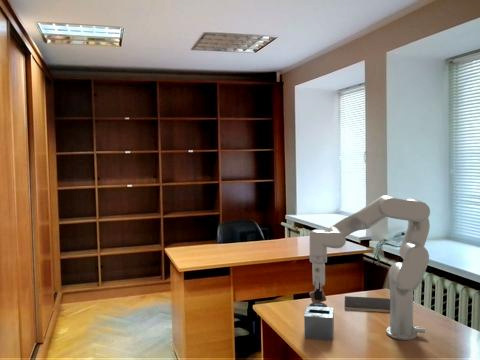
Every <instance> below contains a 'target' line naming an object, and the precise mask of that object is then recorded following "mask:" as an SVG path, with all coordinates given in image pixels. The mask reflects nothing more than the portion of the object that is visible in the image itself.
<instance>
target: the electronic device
mask: <svg viewBox="0 0 480 360" xmlns="http://www.w3.org/2000/svg"><path fill="white" fill-rule="evenodd" d="M308 306H316V307H328V305H327V304H326V303H324V302H320V303H316V304H313V302H311V303H310V304H309V305H308Z"/></svg>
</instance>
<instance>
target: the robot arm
mask: <svg viewBox="0 0 480 360" xmlns="http://www.w3.org/2000/svg"><path fill="white" fill-rule="evenodd" d="M430 215H431V209H430V207H429V205H428V204H427V203H426V202H424V201H422V200H419V199H417V198H407V199H402V198H397V197H394V196H391V195H388V194H386V195H385V194H384V195H382V196H379V197H378V198H376V199H375V200H374V201H372V202H371V203H369V204H368V205H366V206H364V207H362V208H361V209H360V210H358V211H357V212H355V213H352V214H351V215H349V216H347V217H345V218H343V219H341V220H339V221H338V222H336V223H335V224H333V225H332V226H330V227H329V228H327V230H324V229H323V230H322V229H313V230H311V231H309V234H308V236H309V262H310V263H312V264H311V265H312V266H311V267H312V269H311V270H312V271H311V272H312V275H311V276H312V285H313V286H314V291H315V300H322V291H321V289H323V287H324V286H325V283H326V264H325V263H327V262H328V248H329V249H330V248H331V249H341V248H343V247H345V245H346V241H347V239H346V237H348V236H350V235H351V234H352V233H355V232H358V231H364V230H365V231H366V230H369V229H371V228H372V227H373V226H375V225H376V224H378V223H379V222H381V221H383V220H384V219H385V218H390V219H395V220H400V221H401V220H402V221H407V228H406V232H405V234H404V237H403V240H402V243H401V245H400V248H399V250H398V252H399V256H400V257H401V259H402V260H403V261H402V262H401V261H399V262H395V263H392V264H391V265H390V267H389V269H388V283H389V299H390V312H389V326H388V327H387V328H386V329H385V331H386V334H387V336H389V337H391V338H393V339H396V340H400V341H411V340H414V339H417V337H418V333H421V334H425V333H426V329H425V327H422V326H421V325H420V326H419V325H414V291H415V290H418V288H419V286H420V284H421V283H422V280H423V278H424V276H425V272H426V270H427V268H428V265H429V262H430V261H429V260H430V254H429V252H428V249H427V248H426V247H425V246H426V245H425V244H426V242H427V238H428V237H429V236H428V235H429V232H430V219H429V217H430Z"/></svg>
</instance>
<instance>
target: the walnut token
mask: <svg viewBox="0 0 480 360" xmlns="http://www.w3.org/2000/svg"><path fill="white" fill-rule="evenodd" d="M321 291H322V300H315V290H313V291H310V292H309V294H308V295H309V298H310V300H311V303H313V304H316V303H320V302H322V303H324V302H327V297H326V295H325V292H324V290H323V288H322V289H321Z"/></svg>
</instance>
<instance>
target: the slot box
mask: <svg viewBox="0 0 480 360" xmlns="http://www.w3.org/2000/svg"><path fill="white" fill-rule="evenodd" d="M334 308H335V307H329V306H327V307H316V306H309V305H306V309H305V312H304V315H303V319H304V322H303V323H304V325H303V327H304V339H306V340H307V339H310V340H321V341H332V342H333V341H334V333H335V331H334V330H335V317H334V315H335V313H334V312H335V311H334V310H335V309H334Z"/></svg>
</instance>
